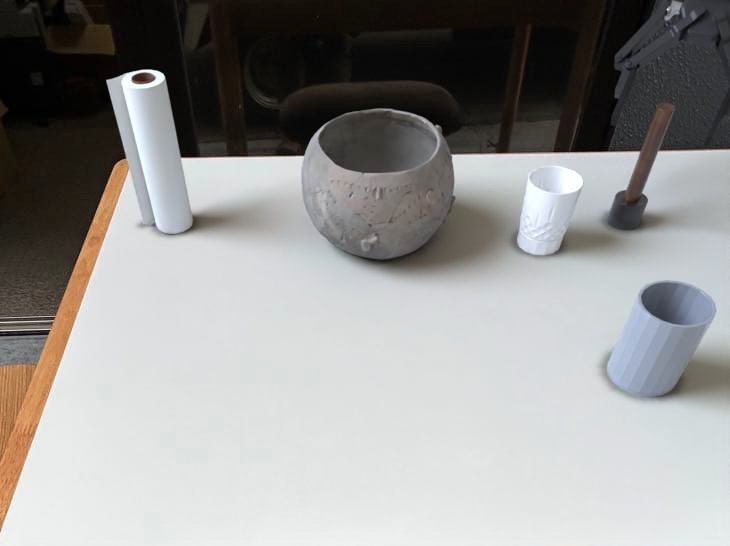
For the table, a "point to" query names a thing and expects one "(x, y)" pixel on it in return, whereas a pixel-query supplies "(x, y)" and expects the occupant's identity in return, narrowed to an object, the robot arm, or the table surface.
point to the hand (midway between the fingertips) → (659, 131)
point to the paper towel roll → (152, 148)
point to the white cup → (548, 208)
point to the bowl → (378, 182)
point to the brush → (640, 174)
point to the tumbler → (660, 337)
